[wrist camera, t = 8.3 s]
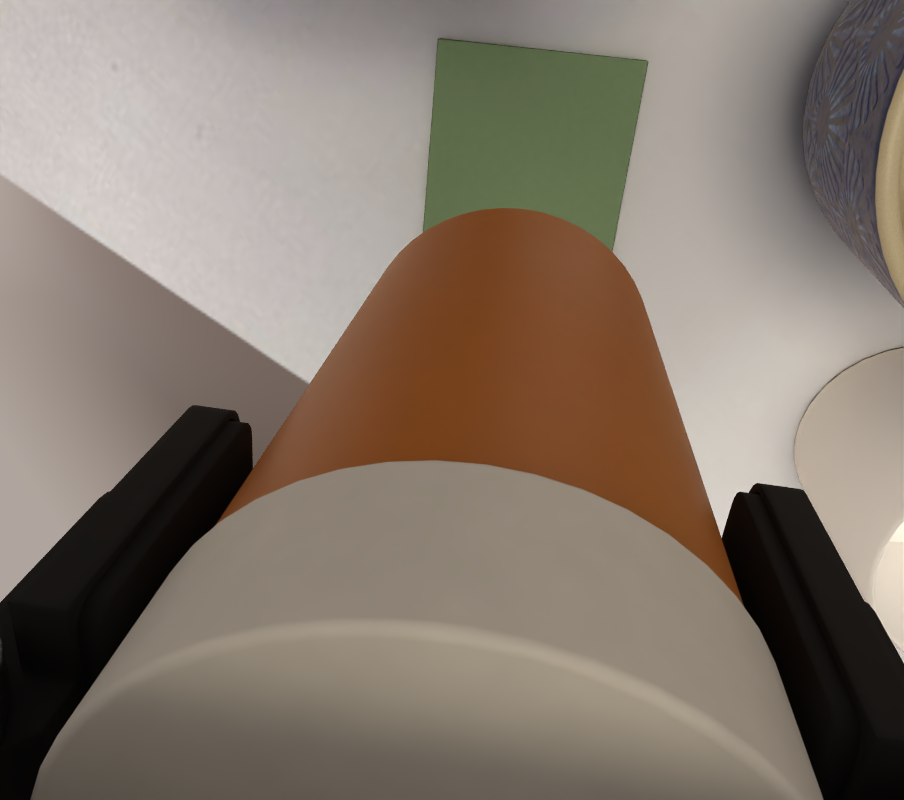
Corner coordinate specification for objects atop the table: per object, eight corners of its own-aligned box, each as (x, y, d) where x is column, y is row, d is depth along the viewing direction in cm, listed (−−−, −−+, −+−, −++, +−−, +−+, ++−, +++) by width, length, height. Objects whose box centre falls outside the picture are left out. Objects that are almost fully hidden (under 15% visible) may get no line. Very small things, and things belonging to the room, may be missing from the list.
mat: (423, 241, 42) (422, 244, 42) (439, 38, 38) (437, 38, 37) (608, 264, 41) (609, 266, 41) (647, 60, 37) (648, 61, 37)
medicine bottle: (356, 454, 18) (73, 1080, 7) (368, 184, 15) (-52, 555, 5) (622, 492, 18) (733, 1208, 7) (684, 221, 15) (1017, 719, 4)
